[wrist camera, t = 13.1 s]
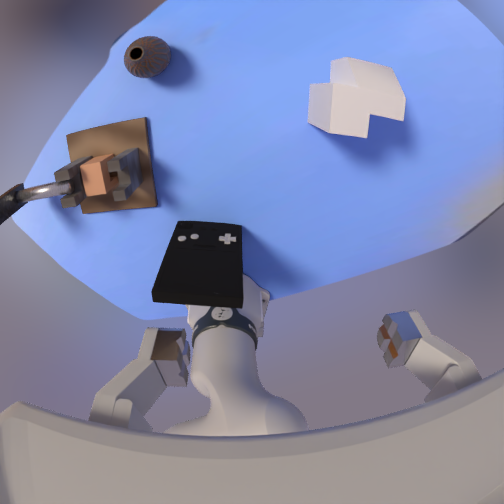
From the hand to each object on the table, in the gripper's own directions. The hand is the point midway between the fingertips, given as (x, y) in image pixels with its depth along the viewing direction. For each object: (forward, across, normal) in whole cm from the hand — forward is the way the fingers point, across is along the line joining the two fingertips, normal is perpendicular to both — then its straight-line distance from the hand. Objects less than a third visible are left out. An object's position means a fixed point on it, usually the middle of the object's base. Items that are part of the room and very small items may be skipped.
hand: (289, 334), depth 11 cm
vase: (+39, +15, -16) cm, 45 cm away
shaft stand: (+39, +25, +2) cm, 46 cm away
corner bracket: (+39, -15, -9) cm, 43 cm away
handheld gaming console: (+39, +8, +16) cm, 43 cm away
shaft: (+33, +37, +2) cm, 50 cm away
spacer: (+38, +25, +2) cm, 46 cm away
